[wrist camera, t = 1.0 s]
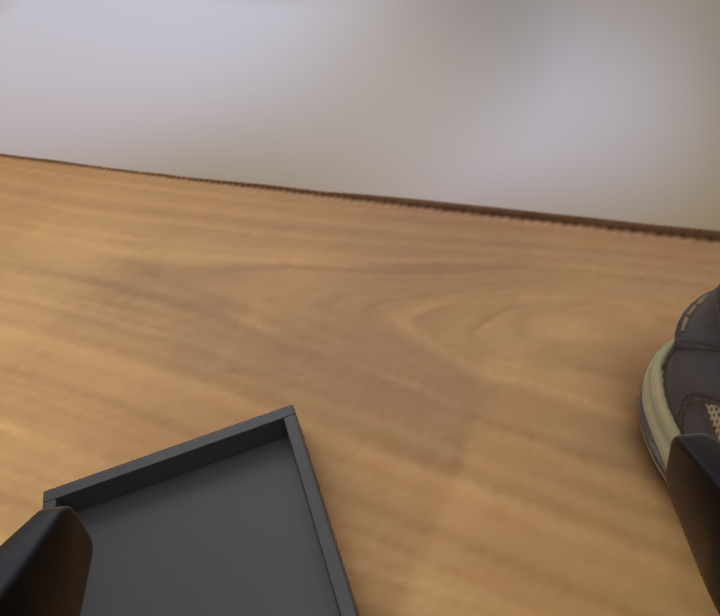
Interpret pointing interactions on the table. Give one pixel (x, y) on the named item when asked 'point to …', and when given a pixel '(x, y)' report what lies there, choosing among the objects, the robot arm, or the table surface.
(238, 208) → the table surface
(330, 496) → the table surface
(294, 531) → the tray
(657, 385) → the boat shoe
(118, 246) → the table surface
